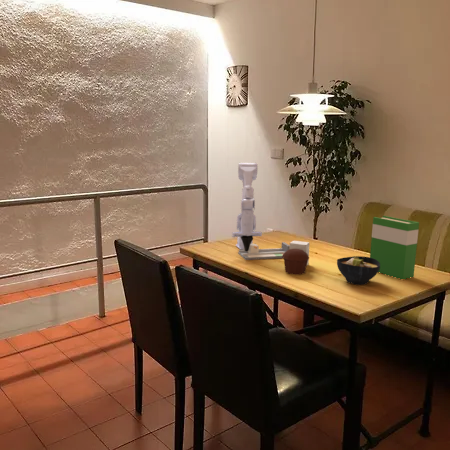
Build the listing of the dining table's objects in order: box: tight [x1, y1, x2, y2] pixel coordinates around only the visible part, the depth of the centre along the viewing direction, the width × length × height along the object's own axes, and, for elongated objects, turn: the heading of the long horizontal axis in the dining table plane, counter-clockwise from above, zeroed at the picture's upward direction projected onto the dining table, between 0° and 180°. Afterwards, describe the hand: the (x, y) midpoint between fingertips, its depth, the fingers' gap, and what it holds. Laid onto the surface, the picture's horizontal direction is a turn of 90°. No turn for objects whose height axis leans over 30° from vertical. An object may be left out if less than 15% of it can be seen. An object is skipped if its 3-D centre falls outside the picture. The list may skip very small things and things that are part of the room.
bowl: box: [336, 255, 380, 286], centre depth 196 cm, size 17×17×10 cm
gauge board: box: [238, 241, 290, 261], centre depth 234 cm, size 12×24×5 cm, turn 104°
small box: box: [289, 240, 310, 266], centre depth 219 cm, size 8×6×10 cm
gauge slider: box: [248, 243, 260, 253], centre depth 233 cm, size 8×4×4 cm, turn 14°
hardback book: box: [369, 215, 420, 280], centre depth 208 cm, size 18×7×24 cm, turn 34°
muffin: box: [282, 249, 310, 276], centre depth 208 cm, size 12×11×10 cm
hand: (246, 250), depth 234 cm, fingers closed
